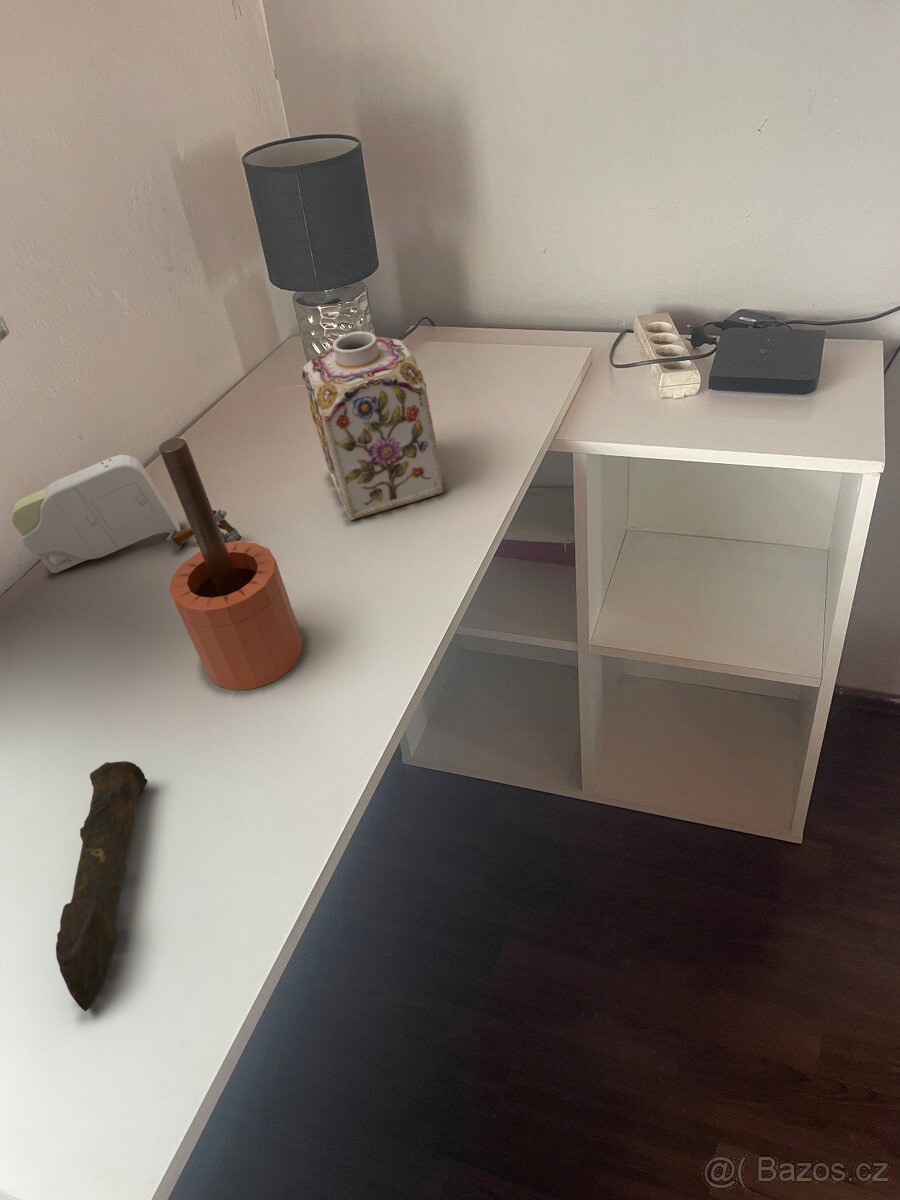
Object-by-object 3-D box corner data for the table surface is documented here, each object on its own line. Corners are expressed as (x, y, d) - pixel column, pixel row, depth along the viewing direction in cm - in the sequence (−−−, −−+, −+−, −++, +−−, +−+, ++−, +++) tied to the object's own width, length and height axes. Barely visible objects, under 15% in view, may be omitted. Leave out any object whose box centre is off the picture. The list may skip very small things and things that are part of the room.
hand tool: (105, 792, 72) (82, 757, 69) (152, 784, 72) (131, 749, 69) (49, 1021, 58) (17, 990, 55) (108, 1011, 58) (79, 979, 55)
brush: (227, 646, 83) (144, 449, 69) (252, 627, 85) (176, 430, 70) (248, 659, 81) (167, 459, 67) (273, 639, 83) (200, 439, 69)
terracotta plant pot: (186, 664, 83) (148, 585, 77) (259, 608, 88) (230, 530, 81) (247, 705, 78) (213, 624, 71) (322, 643, 83) (296, 562, 76)
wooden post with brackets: (244, 541, 96) (217, 511, 93) (192, 566, 99) (165, 537, 97) (249, 531, 97) (223, 501, 95) (198, 556, 100) (171, 528, 98)
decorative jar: (418, 447, 108) (392, 307, 96) (447, 494, 99) (422, 346, 87) (326, 474, 106) (288, 334, 94) (346, 524, 97) (308, 377, 86)
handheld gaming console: (59, 576, 101) (179, 524, 102) (59, 590, 99) (182, 537, 100) (1, 501, 93) (131, 447, 94) (-1, 515, 91) (133, 459, 92)
